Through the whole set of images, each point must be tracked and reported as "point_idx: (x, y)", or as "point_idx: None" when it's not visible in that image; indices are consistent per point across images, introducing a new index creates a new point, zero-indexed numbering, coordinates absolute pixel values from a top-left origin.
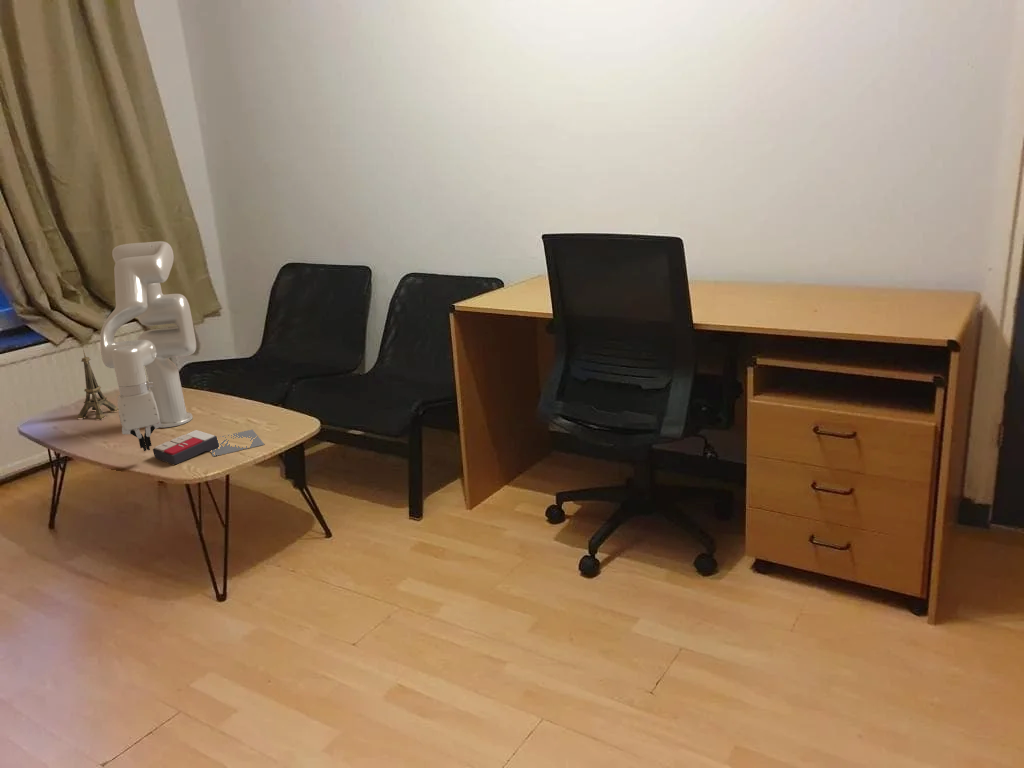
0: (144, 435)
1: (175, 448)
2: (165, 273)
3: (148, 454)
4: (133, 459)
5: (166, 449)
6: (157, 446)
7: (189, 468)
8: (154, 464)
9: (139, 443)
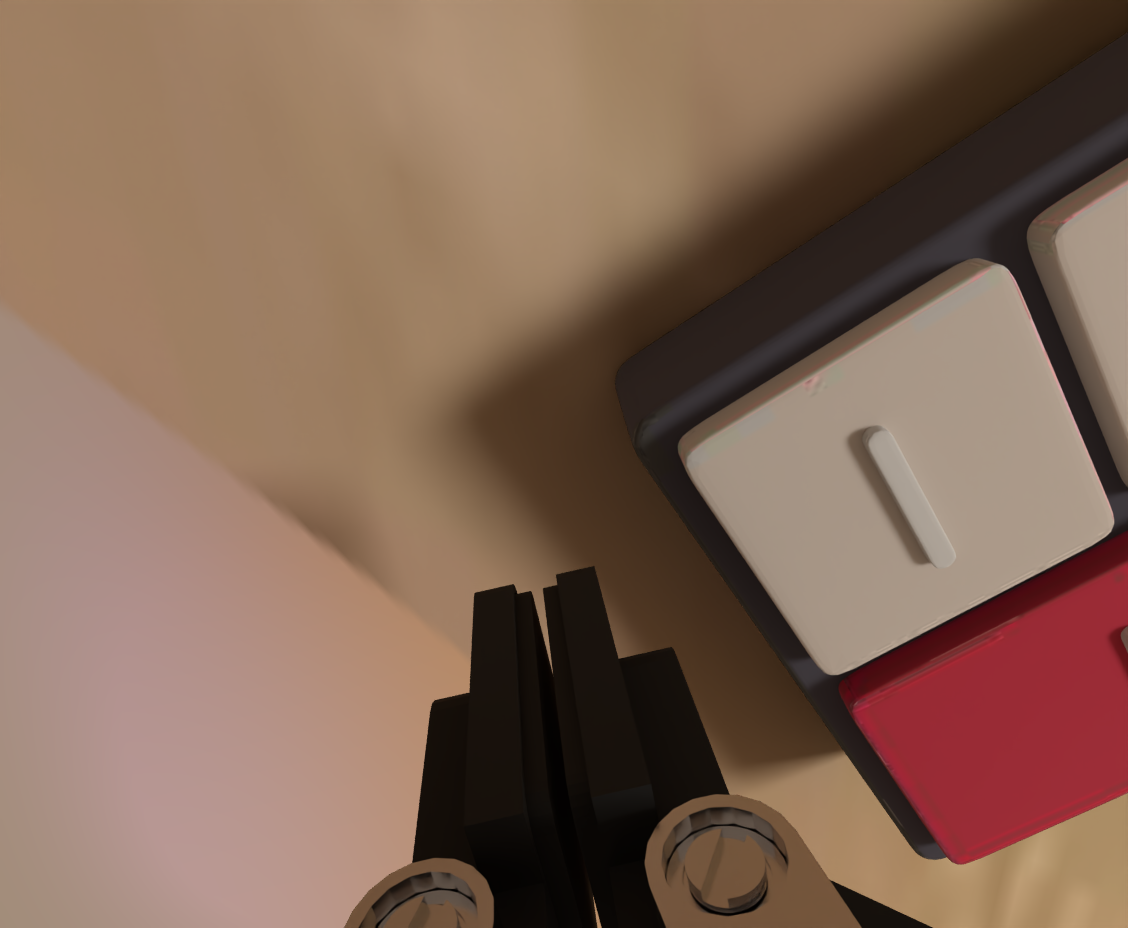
0: (595, 811)
1: (1043, 733)
2: None
3: (475, 103)
4: (232, 256)
5: (897, 693)
6: (748, 460)
7: (998, 875)
8: (618, 623)
9: (430, 764)
